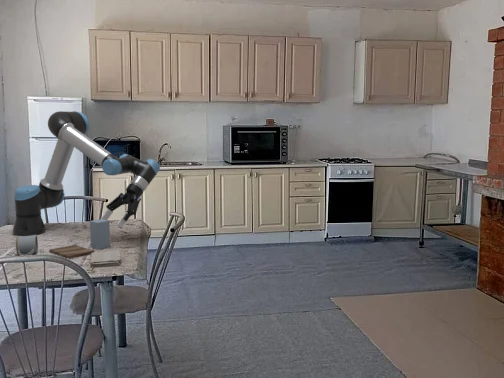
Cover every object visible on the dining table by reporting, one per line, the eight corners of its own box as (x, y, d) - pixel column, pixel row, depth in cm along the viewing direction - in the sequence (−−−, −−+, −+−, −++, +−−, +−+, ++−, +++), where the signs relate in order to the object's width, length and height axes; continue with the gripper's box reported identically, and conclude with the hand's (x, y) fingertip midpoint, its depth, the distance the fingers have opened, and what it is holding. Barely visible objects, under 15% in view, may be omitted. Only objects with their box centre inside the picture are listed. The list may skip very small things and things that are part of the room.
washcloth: (90, 269, 203) (89, 261, 202) (90, 257, 220) (89, 250, 219) (121, 266, 206) (121, 259, 206) (119, 255, 223) (119, 248, 223)
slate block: (90, 247, 235) (89, 221, 234) (102, 244, 240) (101, 219, 238) (98, 249, 231) (97, 222, 230) (110, 247, 236) (109, 220, 234)
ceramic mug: (18, 251, 227) (17, 234, 226) (38, 250, 229) (37, 233, 228) (14, 258, 217) (13, 240, 216) (36, 256, 219) (35, 239, 218)
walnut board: (49, 252, 226) (49, 249, 226) (74, 247, 235) (74, 244, 235) (68, 259, 215) (68, 256, 215) (94, 253, 224) (94, 250, 224)
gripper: (158, 195, 240) (132, 232, 231) (126, 190, 257) (100, 224, 248) (148, 184, 236) (121, 222, 227) (116, 180, 252) (90, 215, 243)
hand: (110, 223), depth 237 cm, fingers open, 13 cm apart
